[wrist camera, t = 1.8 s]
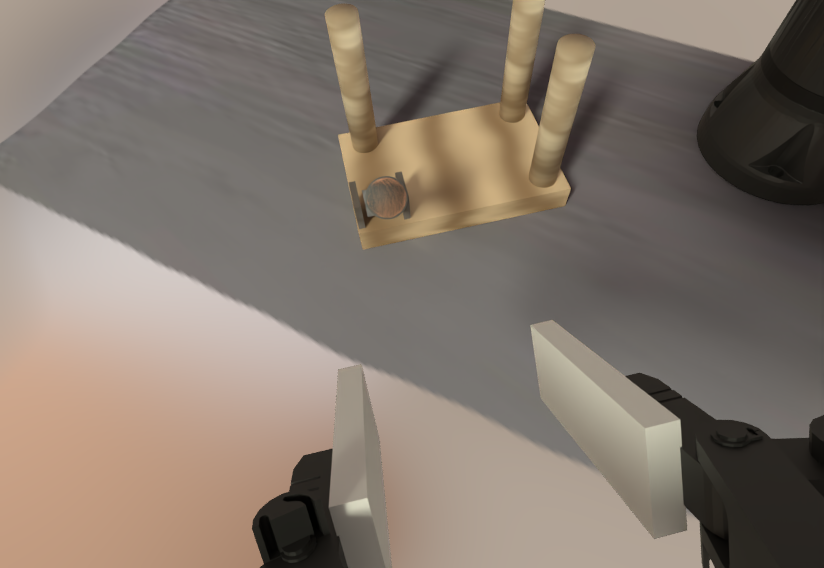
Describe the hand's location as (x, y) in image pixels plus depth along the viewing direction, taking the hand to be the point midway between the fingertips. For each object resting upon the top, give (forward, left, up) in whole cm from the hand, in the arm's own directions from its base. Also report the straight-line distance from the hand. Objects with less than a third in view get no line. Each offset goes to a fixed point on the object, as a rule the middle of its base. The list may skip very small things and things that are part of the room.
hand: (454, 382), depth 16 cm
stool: (-8, -28, -22) cm, 37 cm away
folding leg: (0, -25, -19) cm, 31 cm away
